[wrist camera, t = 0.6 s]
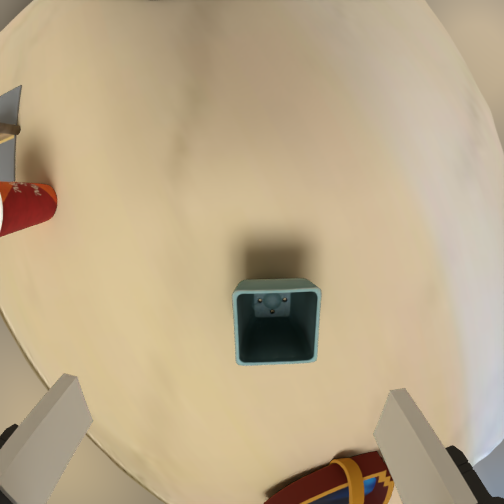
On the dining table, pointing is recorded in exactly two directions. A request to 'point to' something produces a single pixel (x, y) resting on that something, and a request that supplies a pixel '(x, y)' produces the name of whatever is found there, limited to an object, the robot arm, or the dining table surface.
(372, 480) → the decorative basket
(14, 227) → the paper cup
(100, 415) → the dining table surface
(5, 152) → the board
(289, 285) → the flower pot
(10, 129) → the fixed fence panel and posts
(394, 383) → the dining table surface
